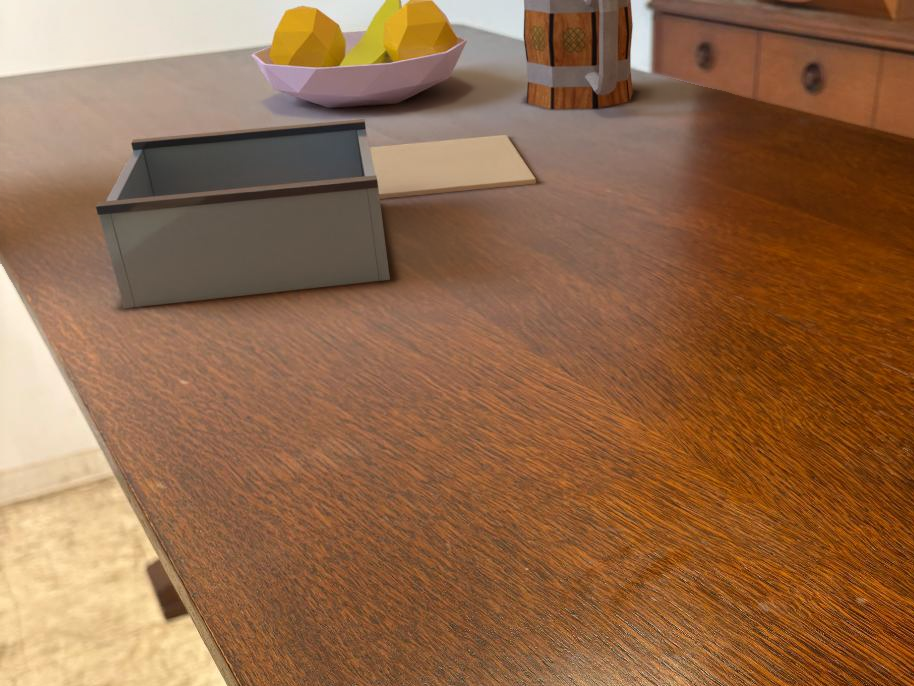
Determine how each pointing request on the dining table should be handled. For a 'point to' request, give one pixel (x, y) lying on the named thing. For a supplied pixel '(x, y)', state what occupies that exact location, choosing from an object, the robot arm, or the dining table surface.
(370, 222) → the gray open box
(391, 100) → the fruit bowl
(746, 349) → the dining table surface
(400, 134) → the dining table surface
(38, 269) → the dining table surface
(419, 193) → the mat
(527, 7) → the mug
